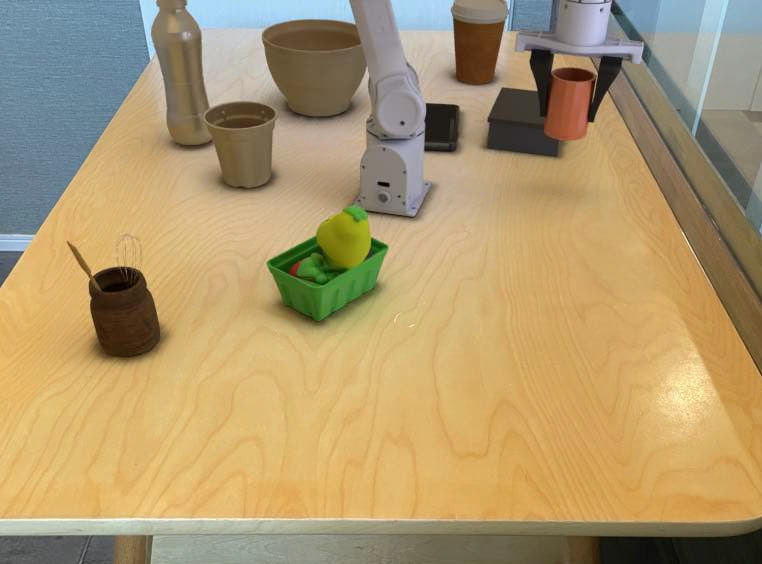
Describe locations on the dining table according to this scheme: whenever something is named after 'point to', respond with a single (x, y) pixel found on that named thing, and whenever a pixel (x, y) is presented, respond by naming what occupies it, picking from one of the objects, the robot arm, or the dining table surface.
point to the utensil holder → (121, 308)
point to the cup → (569, 103)
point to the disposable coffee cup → (477, 38)
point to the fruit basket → (330, 265)
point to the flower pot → (243, 140)
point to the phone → (441, 126)
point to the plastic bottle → (181, 71)
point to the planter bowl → (315, 64)
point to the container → (519, 124)
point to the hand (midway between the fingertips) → (567, 116)
